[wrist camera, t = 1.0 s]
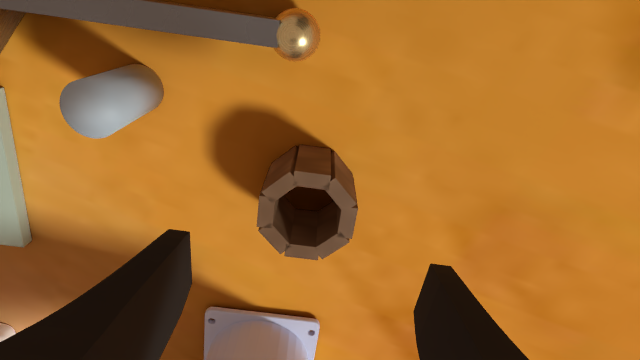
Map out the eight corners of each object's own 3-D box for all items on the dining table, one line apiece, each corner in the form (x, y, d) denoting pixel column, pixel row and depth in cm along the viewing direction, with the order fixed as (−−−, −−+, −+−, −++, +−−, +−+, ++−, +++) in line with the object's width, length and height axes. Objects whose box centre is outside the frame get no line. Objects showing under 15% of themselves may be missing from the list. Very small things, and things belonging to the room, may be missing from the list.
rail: (310, 115, 22) (308, 129, 20) (-31, 68, 22) (-79, 77, 19) (324, 8, 20) (323, 8, 18) (-56, -48, 19) (-115, -56, 17)
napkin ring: (344, 226, 25) (347, 263, 21) (265, 216, 25) (254, 252, 21) (358, 152, 23) (363, 179, 19) (272, 140, 23) (261, 166, 19)
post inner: (164, 114, 22) (122, 141, 18) (117, 108, 22) (63, 134, 18) (163, 67, 21) (118, 83, 17) (114, 60, 21) (56, 75, 17)
